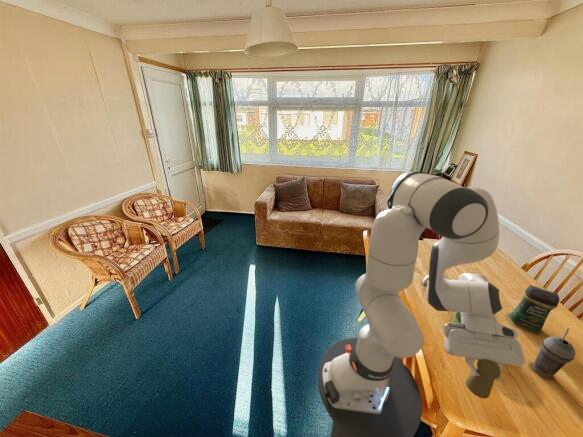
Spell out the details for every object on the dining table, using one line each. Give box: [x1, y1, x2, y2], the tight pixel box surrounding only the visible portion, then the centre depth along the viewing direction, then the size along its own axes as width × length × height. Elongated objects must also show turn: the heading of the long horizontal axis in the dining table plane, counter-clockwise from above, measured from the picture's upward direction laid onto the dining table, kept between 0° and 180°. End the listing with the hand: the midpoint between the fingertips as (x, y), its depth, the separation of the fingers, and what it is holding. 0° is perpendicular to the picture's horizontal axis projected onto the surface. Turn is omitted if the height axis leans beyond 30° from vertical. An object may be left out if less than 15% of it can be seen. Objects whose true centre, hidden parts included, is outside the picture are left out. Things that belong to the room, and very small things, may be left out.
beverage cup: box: [532, 327, 576, 379], centre depth 76 cm, size 7×7×20 cm
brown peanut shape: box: [464, 359, 502, 400], centre depth 68 cm, size 6×6×11 cm
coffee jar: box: [510, 284, 560, 333], centre depth 94 cm, size 10×8×19 cm
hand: (485, 377), depth 67 cm, fingers closed on brown peanut shape, 4 cm apart
